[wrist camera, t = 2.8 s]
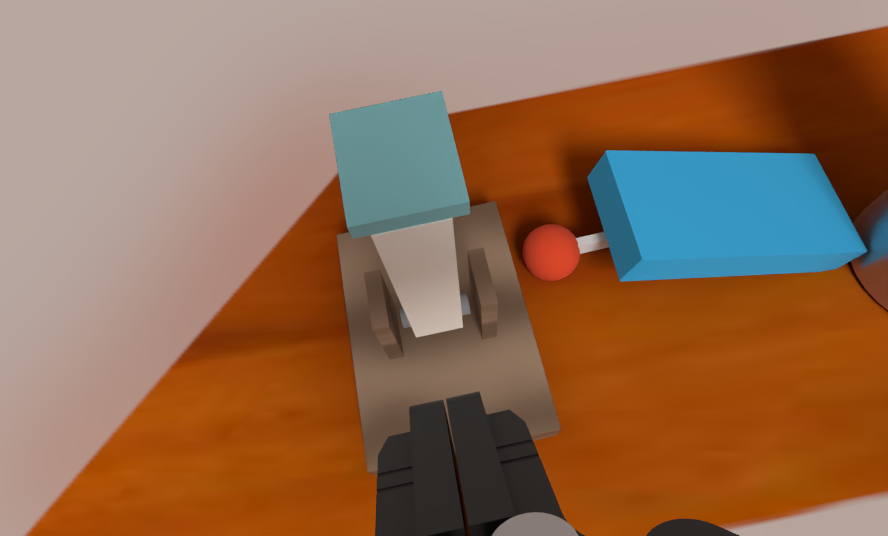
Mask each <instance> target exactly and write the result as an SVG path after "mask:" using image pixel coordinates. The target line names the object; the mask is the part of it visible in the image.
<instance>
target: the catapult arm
mask: <svg viewBox="0 0 888 536" xmlns="http://www.w3.org/2000/svg"><path fill="white" fill-rule="evenodd" d="M329 116H330V123H331V128H332V135H333V142H334V148H335V154H336V161H337V167H338V173H339V179H340V186H341V192H342V198H343V205H344V211H345V217H346V224H347V228H348V230H349V232H350V234H351V236H352V238H353V239H355V238H360V237H365V236H369V235H371V237H372V239H373V242H374V244H375V246H376V248H377V251H378V253H379V255H380V257H381V260H382V262H383V264H384V266H385V269H386V271H387V273H388V275H389V278H390V280H391V282H392V285H393V287H394V289H395V291H396V294H397V296H398V298H399V300H400V303H401V306H399V311H400V316H401V321H402V325H403V328H408V327H412V330H413V332H414V334H415V336H416V338H417V337H421V336H426V335H431V334H435V333H440V332H444V331H449V330H454V329H458V328H463V321H462V316H463V315H468V314H471V312H470V306H469V301H468V297H467V293H466V292H462V293H460V290H459V280H458V270H457V259H456V249H455V239H454V228H453V219H452V218H454V217H459V216H463V215H468V214H470V201H469V197H468V193H467V189H466V185H465V181H464V177H463V173H462V169H461V165H460V161H459V157H458V153H457V149H456V145H455V141H454V137H453V133H452V129H451V125H450V121H449V117H448V113H447V109H446V106H445V101H444V98H443V94H442V91H438V92H434V93H429V94H424V95H420V96H414V97H410V98H405V99H400V100H395V101H390V102H386V103H381V104H376V105H371V106H366V107H361V108H357V109H352V110H347V111H343V112H338V113H333V114H330V115H329Z"/></svg>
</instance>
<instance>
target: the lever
mask: <svg viewBox="0 0 888 536" xmlns="http://www.w3.org/2000/svg"><path fill="white" fill-rule="evenodd" d="M587 179H588V182H589V185H590V188H591V191H592V194H593V198H594V201H595V204H596V207H597V210H598V213H599V217H600V220H601V223H602V226H603V229H604V232H601V233H596V234H592V235H588V236H584V237H579V238H575V236H574V234H573V233H572V232H571V231H570V230H568V229H567V228H565V227H563V226H560V225H555V224H548V225H543V226H540V227H538V228H536V229H535V230H533V231H532V232H531V233H530V234H529V235H528V236H527V238H526V239H525V241H524V245H523V250H522V254H523V261H524V263H525V265H526V267H527V269H528V270H529V271H530V272H531V274H532V275H534V276H535V277H537V278H539V279H542V280H546V281H555V280H560V279H562V278H565V277H567V276H568V275H569V274H571V273H572V272H573V270H574V269H575V268H576V266H577V264H578V261H579V257H580V254H582V253H587V252H591V251H595V250H599V249H604V248H608V247H609V248H610V252H611V255H612V258H613V261H614V264H615V267H616V271H617V274H618V277H619V280H620V281H640V280H661V279H681V278H702V277H722V276H743V275H763V274H784V273H804V272H820V271H826V270H832V269H837V268H839V267H841V266H843V265H844V264H846V263H848V262H850V261H851V260H853V259H855V258H857V257H859V256H860V255H862V254H864V253H866V252H867V249H866V247H865V245H864V244H863V242H862V240H861V238H860V236H859V234H858V233H857V231H856V229H855V227H854V225H853V223H852V222H851V220H850V218H849V216H848V214H847V212H846V211H845V209H844V207H843V205H842V203H841V201H840V200H839V198H838V196H837V194H836V192H835V190H834V189H833V187H832V185H831V183H830V181H829V179H828V178H827V176H826V174H825V172H824V170H823V168H822V167H821V165H820V163H819V161H818V159H817V157H816V156H815V154H801V153H739V152H676V151H614V150H606V152H605V153H604V155H603V156H602V157H601V159H600V160H599V162H598V163H597V164H596V166H595V167H594V169H593V170H592V171H591V173H590V174H589V176H588V177H587Z"/></svg>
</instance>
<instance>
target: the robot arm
mask: <svg viewBox="0 0 888 536" xmlns="http://www.w3.org/2000/svg"><path fill="white" fill-rule="evenodd" d="M853 225H854V227H855V229H856V231H857V233H858V234H859V236H860V238H861V240H862V242H863V244H864V245H865V247H866V249H867V252H866V253H864V254H862V255H860V256H859V257H857V258H855V259H853V260H851V264H852V266H853V269H854V271H855V274H856V275H857V277H858V279H859V280H860V282H861V283H862V285H863V286H864V288H865V289H866V290H867V291H868V292H869V294H870V295H871V296H872V297H873V298H874V299H875V300H876V301H877V302H878V303H879V304H880V305H882V306H883V307H884V308H885V309H887V310H888V189H887V190H886V191H885V192H884V193H882V194H881V195H880V196H879V197H878V198H877V199H875V200H874V201H873V202H872V203H871V204H870V205H868V206H867V207H866V208H865V209H864V210H863V211H862V212H861V213H860V214H859V215H858V217H857V218H856V219H855V220H854V223H853ZM446 402H447V408H448V414H449V419H450V425H451V431H452V436H453V441H452V436H451V432H450V427H449V423H448V418H447V414H446V409H445V405H444V401H443V399H441V400H437V401H432V402H428V403H423V404H419V405H414V406H410V407H409V417H410V432H406V433H401V434H397V435H392V436H388V438H387V440H386V442H385V443H384V445H383V447H382V449H381V450H380V452H379V454H378V467H377V475H378V478H377V497H376V528H375V536H584V535H582V534H581V533H579V532H578V531H576V530H575V529H574V528H573V527H572V526H571V525H570V524H569V523H568V522H567V521H566V519H565V518H564V516H563V514H562V512H561V509H560V507H559V504H558V502H557V499H556V497H555V494H554V492H553V489H552V487H551V484H550V482H549V479H548V477H547V474H546V472H545V469H544V467H543V464H542V462H541V459H540V457H539V455H538V452H537V449H536V447H535V444H534V443H533V440H532V437H531V434H530V432H529V429H528V427H527V424H526V422H525V421H524V420H522V419H521V418H520V417H519V416H517V415H516V414H515V413H514V412H512V411H511V410H510V409H509V410H505V411H500V412H496V413H491V414H487V415H486V412H485V408H484V405H483V402H482V398H481V395H480V392H479V391H477V392H473V393H468V394H464V395H459V396H454V397H450V398H446ZM453 442H454V445H453ZM454 447H455V450H454ZM455 453H456V454H455ZM647 536H739V535H736V534H734V533H732V532H730V531H728V530H725V529H723V528H721V527H719V526H716V525H714V524H711V523H708V522H705V521H701V520H695V519H675V520H670V521H666V522H664V523H661V524H659V525H657V526H656V527H654V528H653V529H652V530H651V531H650V532H649V533H648V534H647Z"/></svg>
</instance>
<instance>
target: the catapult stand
mask: <svg viewBox="0 0 888 536" xmlns="http://www.w3.org/2000/svg"><path fill="white" fill-rule="evenodd" d="M452 219H453V228H454V239H455V249H456V259H457V270H458V280H459V290H460V293H462V292H466V293H467V297H468V301H469V306H470V312H471V314H468V315H463V316H462V321H463V328H458V329H454V330H449V331H444V332H440V333H435V334H431V335H426V336H421V337H417V338H416V336H415V334H414V332H413V330H412V327H408V328H403V325H402V321H401V316H400V311H399V306H401V303H400V300H399V298H398V296H397V294H396V291H395V289H394V287H393V285H392V282H391V280H390V278H389V275H388V273H387V271H386V269H385V266H384V264H383V262H382V260H381V257H380V255H379V253H378V251H377V248H376V246H375V244H374V242H373V239H372V237H371V235H369V236H365V237H360V238H355V239H353V238H352V236H351V234H350V232H347V233H343V234H338V235H337V243H338V250H339V258H340V266H341V273H342V281H343V288H344V296H345V304H346V311H347V319H348V326H349V334H350V341H351V349H352V357H353V364H354V372H355V379H356V387H357V395H358V402H359V410H360V417H361V425H362V432H363V440H364V448H365V455H366V463H367V470H368V472H369V473H371V474H373V475H377V467H378V454H379V452H380V450H381V449H382V447H383V445H384V443H385V442H386V440H387V438H388V436H392V435H397V434H401V433H406V432H410V417H409V407H410V406H414V405H419V404H423V403H428V402H432V401H437V400H441V399H443V401H444V405H445V409H446V414H447V418H448V423H449V427H450V432H451V436H452V431H451V425H450V419H449V414H448V408H447V402H446V398H450V397H454V396H459V395H464V394H468V393H473V392H477V391H479V392H480V395H481V398H482V402H483V405H484V408H485V412H486V415H487V414H491V413H496V412H500V411H505V410H509V409H510V410H511V411H512V412H514V413H515V414H516V415H517V416H519V417H520V418H521V419H522V420H524V421H525V422H526V424H527V427H528V429H529V432H530V434H531V437H532V440H533V441H534V440H538V439H543V438H547V437H552V436H556V435H557V434H558V433H559V431H560V430H561V427H560V424H559V420H558V417H557V413H556V410H555V407H554V403H553V400H552V396H551V393H550V389H549V386H548V382H547V379H546V375H545V372H544V368H543V365H542V361H541V358H540V354H539V351H538V347H537V344H536V340H535V337H534V333H533V330H532V326H531V323H530V319H529V316H528V312H527V309H526V305H525V302H524V299H523V295H522V292H521V288H520V285H519V281H518V278H517V274H516V271H515V267H514V264H513V260H512V257H511V253H510V250H509V246H508V243H507V239H506V236H505V232H504V229H503V225H502V222H501V218H500V215H499V211H498V208H497V204H496V201H494V202H489V203H484V204H479V205H475V206H470V214H468V215H463V216H459V217H454V218H452ZM452 441H453V436H452ZM453 445H454V442H453ZM454 450H455V447H454ZM455 454H456V453H455Z"/></svg>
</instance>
